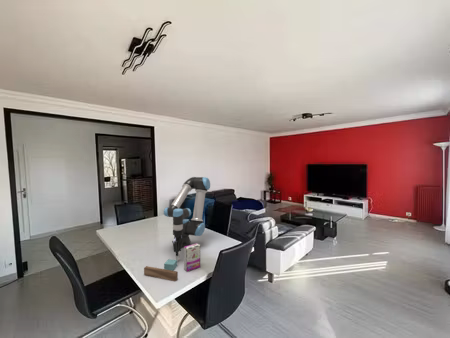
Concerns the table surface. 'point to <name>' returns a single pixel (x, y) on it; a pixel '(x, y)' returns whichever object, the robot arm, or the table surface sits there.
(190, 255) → the candy bar box
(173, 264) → the teal block
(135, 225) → the table surface
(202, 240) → the table surface
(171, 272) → the curved walnut bar
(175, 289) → the table surface
